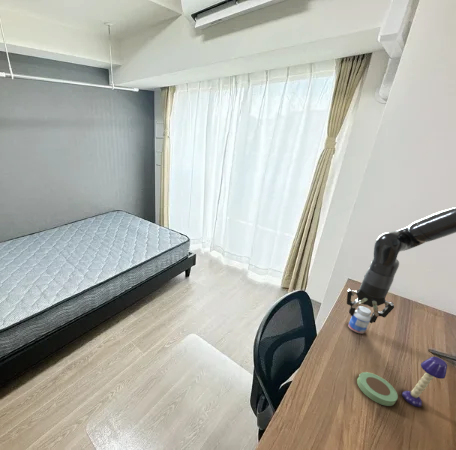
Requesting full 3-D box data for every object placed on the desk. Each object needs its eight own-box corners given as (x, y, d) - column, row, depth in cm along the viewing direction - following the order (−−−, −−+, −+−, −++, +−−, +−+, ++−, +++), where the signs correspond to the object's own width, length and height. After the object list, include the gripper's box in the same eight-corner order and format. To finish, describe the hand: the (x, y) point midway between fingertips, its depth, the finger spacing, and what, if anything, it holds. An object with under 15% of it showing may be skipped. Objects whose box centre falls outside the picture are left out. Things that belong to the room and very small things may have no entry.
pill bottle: (347, 321, 101) (355, 302, 97) (364, 327, 98) (372, 308, 95) (348, 329, 97) (356, 310, 93) (365, 336, 94) (374, 316, 90)
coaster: (393, 388, 75) (396, 383, 74) (396, 412, 68) (399, 408, 68) (357, 371, 80) (359, 366, 79) (356, 392, 73) (359, 387, 73)
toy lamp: (427, 406, 70) (456, 365, 64) (416, 411, 69) (445, 370, 63) (407, 390, 74) (432, 350, 68) (397, 394, 73) (421, 354, 67)
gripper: (352, 279, 91) (338, 314, 97) (404, 295, 83) (385, 333, 89) (352, 270, 96) (339, 305, 102) (401, 285, 88) (384, 321, 94)
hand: (361, 318), depth 96 cm, fingers closed on pill bottle, 5 cm apart
